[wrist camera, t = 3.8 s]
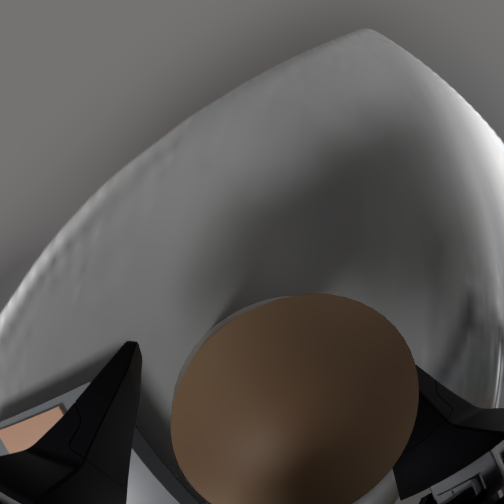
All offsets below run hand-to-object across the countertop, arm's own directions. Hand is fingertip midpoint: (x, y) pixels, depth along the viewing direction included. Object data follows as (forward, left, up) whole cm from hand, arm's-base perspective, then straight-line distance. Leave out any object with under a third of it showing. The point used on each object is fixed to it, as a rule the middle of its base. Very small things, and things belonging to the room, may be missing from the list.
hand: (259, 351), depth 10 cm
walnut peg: (-1, +1, -7) cm, 7 cm away
